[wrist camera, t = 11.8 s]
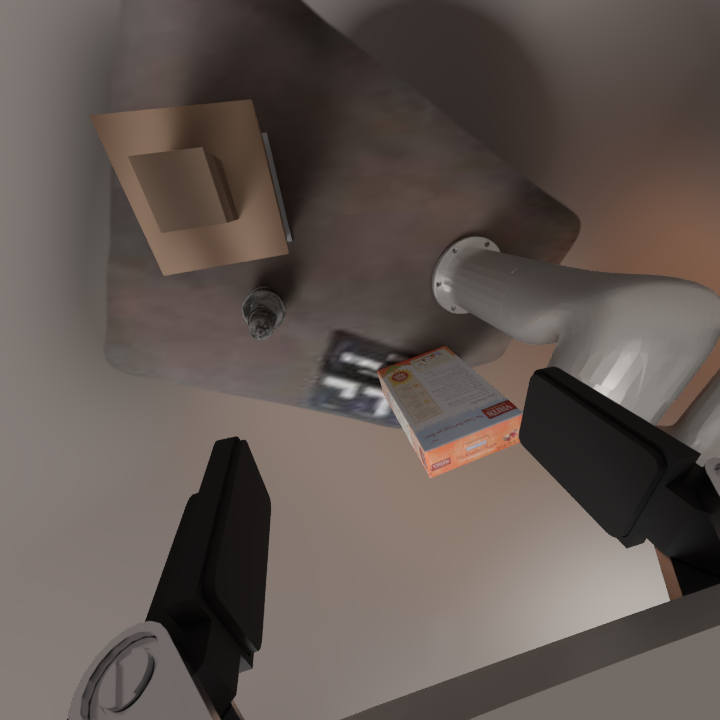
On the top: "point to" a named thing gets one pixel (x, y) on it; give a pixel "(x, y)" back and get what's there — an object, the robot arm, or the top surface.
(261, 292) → the grey ridged tall piece
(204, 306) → the top surface
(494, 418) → the cracker box
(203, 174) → the walnut cover
